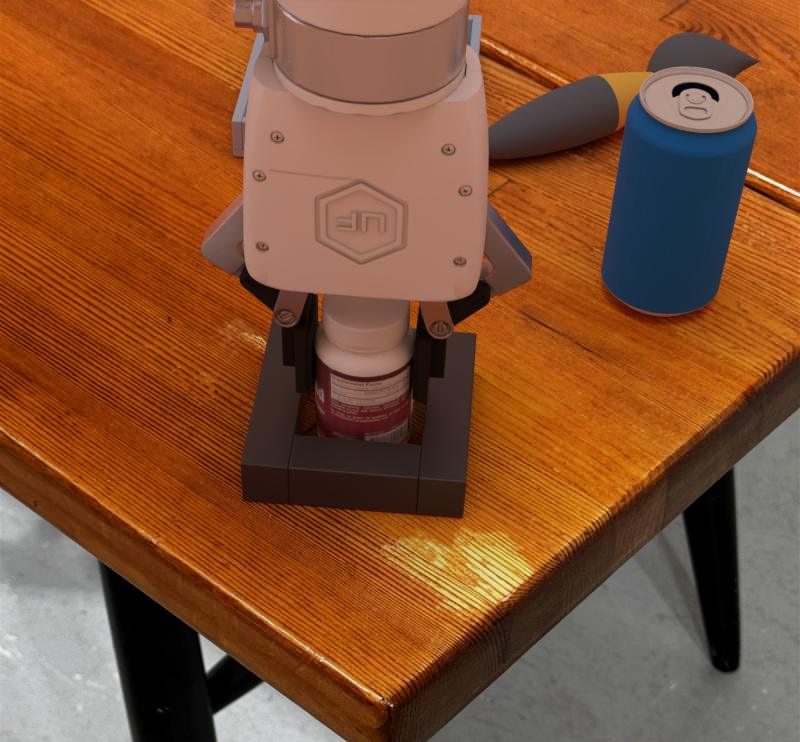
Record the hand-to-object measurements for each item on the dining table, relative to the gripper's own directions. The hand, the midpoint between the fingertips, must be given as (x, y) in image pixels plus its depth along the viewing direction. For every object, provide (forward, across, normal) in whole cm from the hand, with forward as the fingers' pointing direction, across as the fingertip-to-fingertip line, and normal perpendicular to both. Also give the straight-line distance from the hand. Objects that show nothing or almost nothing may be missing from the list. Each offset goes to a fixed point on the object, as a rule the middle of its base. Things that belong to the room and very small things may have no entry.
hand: (364, 375), depth 69 cm
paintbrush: (+4, +13, +28) cm, 31 cm away
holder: (+4, 0, 0) cm, 4 cm away
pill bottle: (+4, 0, 0) cm, 4 cm away
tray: (+4, -3, +30) cm, 30 cm away
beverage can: (+4, +15, +13) cm, 20 cm away
